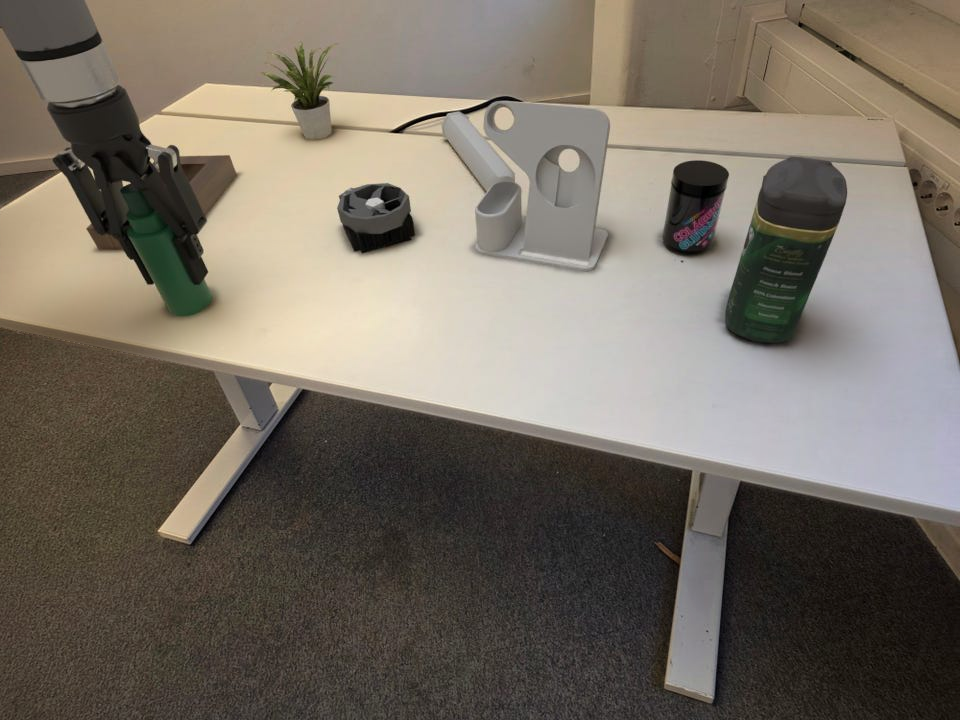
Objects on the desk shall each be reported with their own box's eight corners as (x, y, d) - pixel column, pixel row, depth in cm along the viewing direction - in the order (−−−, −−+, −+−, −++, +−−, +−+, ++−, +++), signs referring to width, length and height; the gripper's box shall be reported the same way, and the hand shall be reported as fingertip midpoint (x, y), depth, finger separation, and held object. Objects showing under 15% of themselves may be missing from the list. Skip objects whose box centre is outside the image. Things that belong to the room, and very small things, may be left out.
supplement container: (658, 253, 82) (670, 182, 75) (663, 227, 86) (675, 158, 79) (710, 260, 80) (728, 188, 73) (713, 232, 85) (730, 162, 77)
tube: (525, 173, 92) (472, 113, 109) (494, 170, 90) (444, 109, 107) (515, 205, 95) (465, 142, 113) (485, 203, 93) (438, 138, 110)
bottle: (161, 317, 79) (96, 200, 67) (180, 291, 83) (121, 176, 71) (202, 318, 78) (143, 199, 66) (219, 291, 82) (166, 175, 70)
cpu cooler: (416, 206, 84) (345, 224, 82) (422, 241, 88) (354, 260, 85) (395, 175, 91) (329, 191, 89) (401, 208, 95) (338, 225, 93)
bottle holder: (99, 251, 92) (85, 228, 89) (168, 177, 108) (158, 156, 105) (180, 251, 90) (168, 227, 87) (237, 176, 106) (229, 155, 104)
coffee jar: (793, 353, 67) (855, 202, 54) (719, 337, 69) (761, 190, 57) (798, 301, 73) (854, 154, 60) (729, 288, 76) (769, 145, 63)
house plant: (334, 111, 125) (313, 24, 114) (372, 129, 117) (355, 38, 106) (272, 135, 118) (244, 45, 107) (309, 155, 111) (283, 61, 99)
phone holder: (470, 253, 85) (459, 127, 72) (495, 216, 91) (489, 95, 79) (592, 274, 79) (602, 142, 67) (609, 233, 86) (622, 106, 74)
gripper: (186, 76, 63) (257, 261, 79) (23, 82, 65) (125, 261, 81) (152, 105, 58) (236, 296, 74) (-24, 111, 60) (95, 296, 76)
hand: (178, 278), depth 77 cm, fingers closed on bottle, 6 cm apart
